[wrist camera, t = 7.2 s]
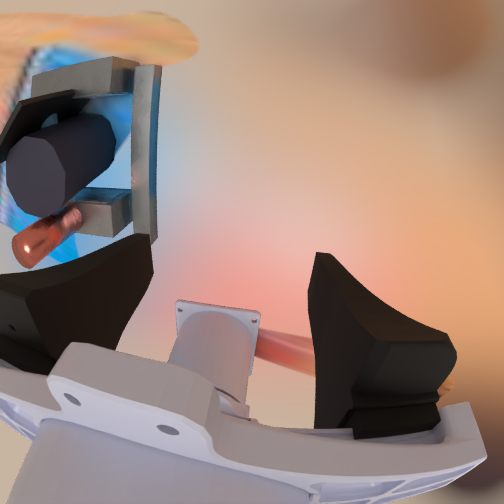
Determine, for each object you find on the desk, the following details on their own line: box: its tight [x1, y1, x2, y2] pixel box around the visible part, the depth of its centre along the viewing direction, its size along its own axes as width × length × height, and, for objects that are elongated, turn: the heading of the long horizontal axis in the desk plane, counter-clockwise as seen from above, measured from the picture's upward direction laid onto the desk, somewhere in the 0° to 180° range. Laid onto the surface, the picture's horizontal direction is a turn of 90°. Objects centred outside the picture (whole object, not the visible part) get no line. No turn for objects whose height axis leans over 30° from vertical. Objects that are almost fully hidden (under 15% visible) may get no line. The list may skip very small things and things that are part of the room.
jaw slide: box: [12, 187, 133, 269], centre depth 18 cm, size 3×8×10 cm, turn 84°
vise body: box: [31, 56, 162, 245], centre depth 19 cm, size 14×12×4 cm
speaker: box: [0, 89, 116, 218], centre depth 16 cm, size 8×6×10 cm
